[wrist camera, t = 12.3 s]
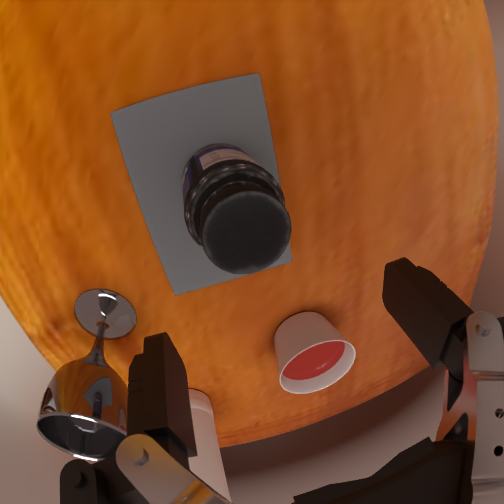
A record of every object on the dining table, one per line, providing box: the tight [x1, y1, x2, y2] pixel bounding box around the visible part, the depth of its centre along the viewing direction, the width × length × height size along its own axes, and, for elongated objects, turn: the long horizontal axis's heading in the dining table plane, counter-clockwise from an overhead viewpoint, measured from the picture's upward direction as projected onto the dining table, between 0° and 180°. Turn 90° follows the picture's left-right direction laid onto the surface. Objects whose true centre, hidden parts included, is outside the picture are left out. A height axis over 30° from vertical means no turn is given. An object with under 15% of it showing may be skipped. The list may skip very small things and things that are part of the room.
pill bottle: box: [182, 144, 291, 274], centre depth 20 cm, size 6×6×11 cm
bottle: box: [188, 389, 231, 502], centre depth 27 cm, size 8×8×30 cm
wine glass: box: [37, 289, 137, 461], centre depth 23 cm, size 8×8×15 cm
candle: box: [274, 312, 355, 394], centre depth 34 cm, size 9×9×6 cm
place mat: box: [110, 73, 292, 296], centre depth 26 cm, size 18×12×1 cm, turn 11°
